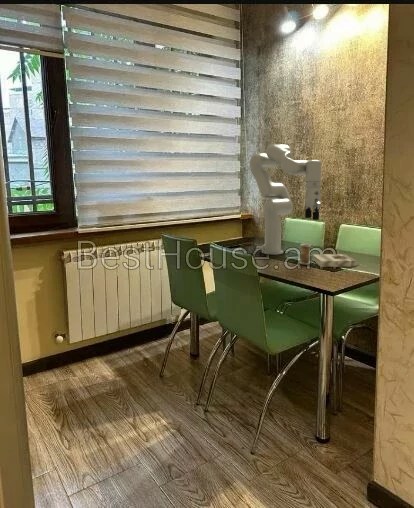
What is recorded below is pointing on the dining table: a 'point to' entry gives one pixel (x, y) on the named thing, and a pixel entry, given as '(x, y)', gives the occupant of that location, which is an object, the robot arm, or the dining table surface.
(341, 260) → the socket board
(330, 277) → the dining table surface
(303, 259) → the bobbin
